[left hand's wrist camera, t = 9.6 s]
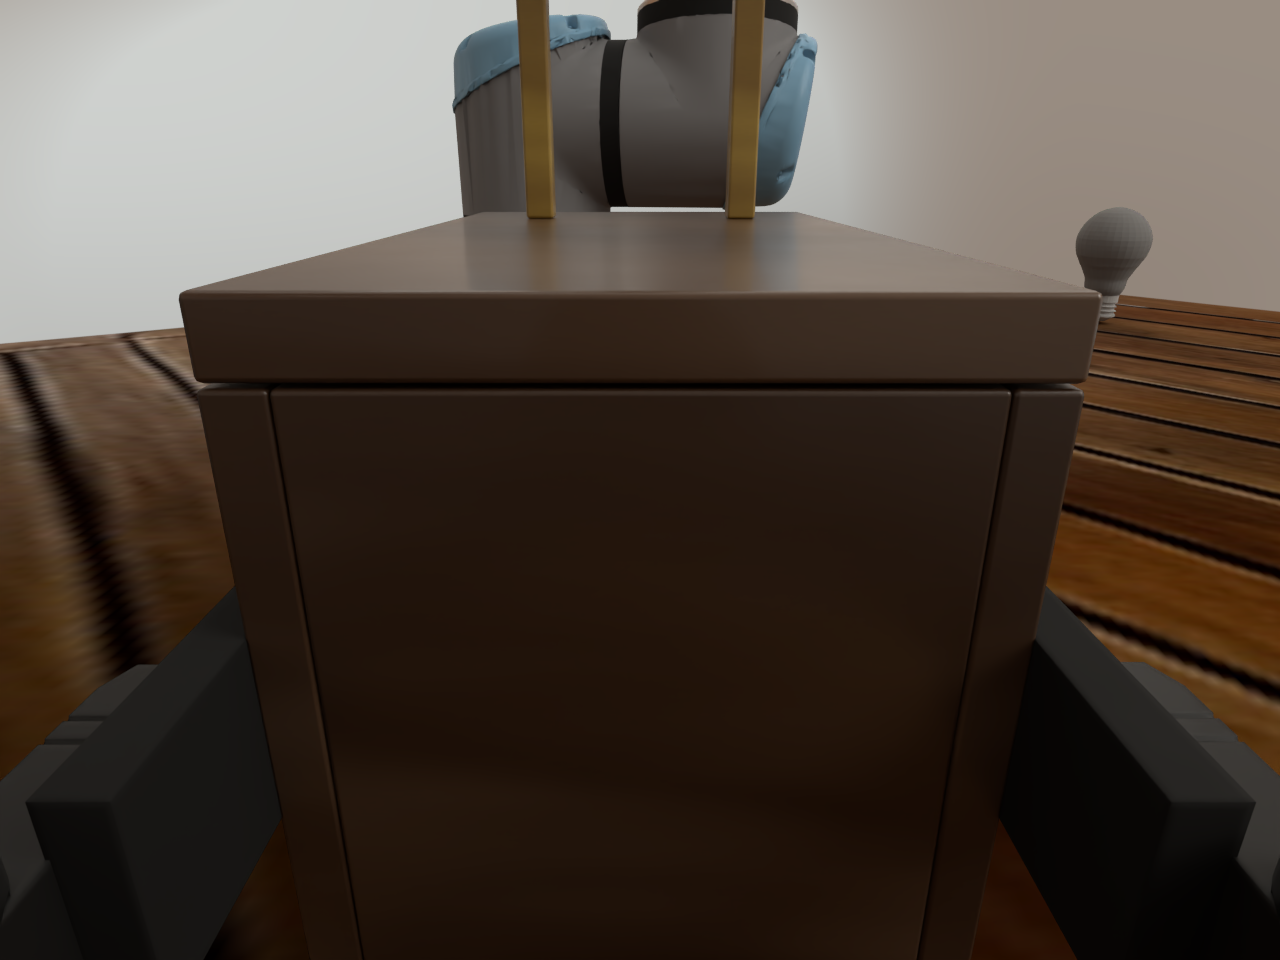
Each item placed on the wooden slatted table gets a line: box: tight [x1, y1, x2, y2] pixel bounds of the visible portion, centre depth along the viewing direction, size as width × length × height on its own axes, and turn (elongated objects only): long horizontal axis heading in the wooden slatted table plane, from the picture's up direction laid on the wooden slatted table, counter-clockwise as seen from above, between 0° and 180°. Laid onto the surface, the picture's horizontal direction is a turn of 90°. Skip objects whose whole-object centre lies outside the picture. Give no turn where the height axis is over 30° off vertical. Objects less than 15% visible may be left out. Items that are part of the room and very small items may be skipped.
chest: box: [197, 383, 1084, 960], centre depth 18 cm, size 17×10×11 cm, turn 0°
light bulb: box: [1076, 207, 1153, 321], centre depth 74 cm, size 6×6×10 cm
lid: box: [179, 0, 1103, 384], centre depth 15 cm, size 17×9×8 cm, turn 0°
